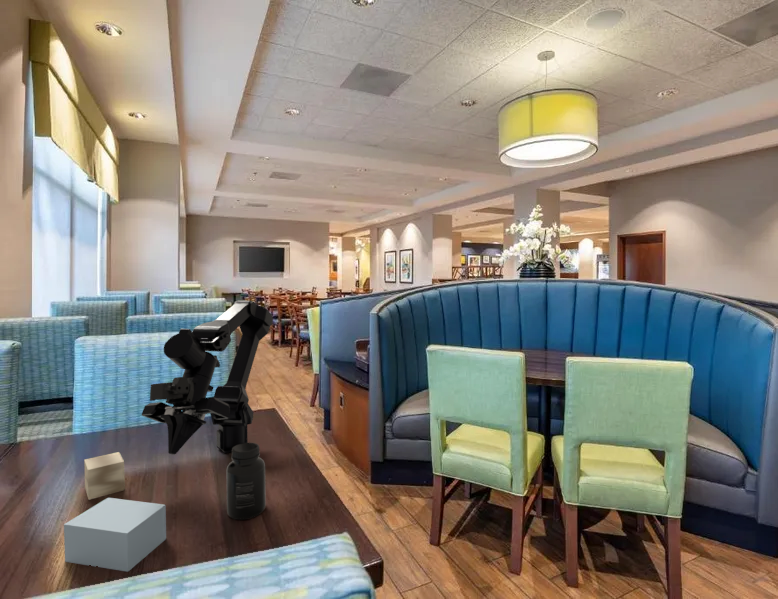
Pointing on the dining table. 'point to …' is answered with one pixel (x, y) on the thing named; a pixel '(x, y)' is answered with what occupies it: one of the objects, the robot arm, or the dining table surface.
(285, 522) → the dining table surface
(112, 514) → the gray block
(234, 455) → the supplement bottle
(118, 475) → the birch cube
